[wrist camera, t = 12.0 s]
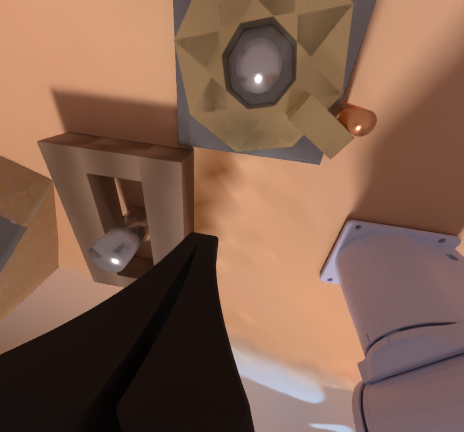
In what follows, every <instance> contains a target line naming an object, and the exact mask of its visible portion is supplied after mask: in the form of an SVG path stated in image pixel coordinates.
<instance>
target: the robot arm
mask: <svg viewBox="0 0 464 432" xmlns="http://www.w3.org/2000/svg"><path fill="white" fill-rule="evenodd" d="M357 225H360V226H359V227H356V226H357ZM440 239H441V240H440ZM460 243H461V239H460V238H458V237H457V236H453V235H447V234H441V233H434V232H428V231H422V230H415V229H409V228H403V227H396V226H390V225H383V224H377V223H371V222H364V221H358V220H349V221H347V222H346V224H345V226H344V228H343V230H342V232H341V234H340V236H339V238H338V240H337V242H336V244H335V246H334V248H333V250H332V252H331V254H330V256H329V258H328V260H327V262H326V264H325V266H324V268H323V270H322V272H321V274H320V280H321V281H323V282H328V283H334V284H339V285H341V288H342V291H343V294H344V297H345V300H346V303H347V306H348V309H349V311H350V314H351V317H352V320H353V323H354V326H355V329H356V332H357V335H358V338H359V341H360V343H361V346H362V349H363V352H364V355H365V359H364V360H363V361H361V362H359V363H358V367H359V371H360V374H361V377H362V380H363V381H361V382H359V383H358V384H357V385H356V387H355V389H354V392H353V398H352V411H353V418H354V424H355V429H356V432H464V257H463V256H462V255H461V254H460V253H459V252H458V251H457V250H456V249H455V248H456V247H457V246H458V245H459V244H460ZM217 250H218V238H217V236H212V235H206V234H200V233H195V232H190V233H189V234H188V235H187V236H186V237H185V238H184V239H183V240H182V241H181V242H180V243H179V244H178V245H177V246H176V247H175V248H174V249H173V250H172V251H171V252H169V253H168V254H167V255H166V256H165V257H164V258H163V259H162V260H160V261H159V262H158V263H157V264H156V265H154V266H153V267H152V268H151V269H149V270H148V271H147V272H146V273H145V274H143V275H142V276H141V277H139V278H138V279H137V280H135V281H134V282H132V283H131V284H130V285H128V286H127V287H125V288H124V289H122V290H121V291H119V292H118V293H116V294H115V295H113V296H112V297H110V298H109V299H107V300H105V301H104V302H102V303H100V304H99V305H97V306H95V307H94V308H92V309H90V310H89V311H87V312H85V313H83V314H81V315H80V316H78V317H76V318H74V319H72V320H70V321H69V322H67V323H65V324H63V325H61V326H59V327H57V328H55V329H54V330H51V331H50V332H47V333H45V334H43V335H41V336H39V337H37V338H35V339H33V340H31V341H28V342H27V343H24V344H22V345H20V346H18V347H16V348H14V349H12V350H9V351H7V352H5V353H3V354H1V355H0V432H255V431H254V426H253V421H252V416H251V411H250V405H249V402H248V399H247V396H246V393H245V391H244V388H243V385H242V382H241V379H240V376H239V373H238V370H237V366H236V363H235V360H234V357H233V353H232V350H231V346H230V342H229V339H228V335H227V331H226V327H225V323H224V319H223V314H222V309H221V304H220V299H219V293H218V285H217V276H216V260H217ZM329 278H330V279H329Z"/></svg>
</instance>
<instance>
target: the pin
mask: <svg viewBox="0 0 464 432" xmlns="http://www.w3.org/2000/svg"><path fill="white" fill-rule="evenodd" d="M148 235H149V229H148V222H147V216H146V209H145V208H144V207H141V206H136V207H133V208H131V209H130V210H129V211H128V212H127V213H126V214H125V215H124V216H123V217H122V218H121V219H120V220H119V221H118V222H117V223H116V224H115V225H114V226H113V227H112V228H111V229H110V230H109V231H108V232H107V233H106V234H105V235H104V236H103V237H102V238H101V239H100V240H99V241H98V242H96V243H95V244H94V245H93V246H92V247H91V248H90V250H89V255H90V258H91V259H92V261H93V262H94V263H95V264H96V265H97V266H99V267H100V268H102V269H104V270H107V271H110V272H119V271H122V270H123V269H124V268H125V266H126V265H127V264H128V262H129V261H130V260H131V258H132V257H133V256H134V254H135V253H136V252H137V250H138V249H139V247H140V246H141V245H142V243H143V242H144V241H145V239H146V238H147V237H148Z"/></svg>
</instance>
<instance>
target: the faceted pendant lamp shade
mask: <svg viewBox="0 0 464 432" xmlns="http://www.w3.org/2000/svg"><path fill="white" fill-rule="evenodd" d="M352 11H353V2H352V1H351V0H192V1H191V3H190V5H189V8H188V10H187V12H186V14H185V17H184V19H183V21H182V23H181V26H180V28H179V30H178V32H177V35H176V37H175V39H174V42H175V47H176V52H177V56H178V61H179V66H180V70H181V75H182V79H183V84H184V89H185V93H186V98H187V102H188V107H189V112H190V115H191V116H192V117H194V118H195V119H196V120H197V121H199V122H200V123H201V124H202V125H204V126H205V127H206V128H207V129H208V130H210V131H211V132H212V133H213V134H215V135H216V136H217V137H218V138H219V139H221V140H222V141H223V142H224V143H226V144H227V145H228V146H229V147H230V148H232V149H233V150H234V151H235V152H240V151H251V150H262V149H272V148H283V147H293V146H294V144H295V143H296V142H297V141H298V140H299V139H300V138H301V137H302V136H303V135H305V136H306V137H307V138H308V139H309V140H310V141H311V142H312V143H313V144H315V145H316V146H317V147H318V148H319V149H320V150H321V151H322V152H323V153H324V154H325V155H326V156H327V157H328V158H330V159H332V158H333V157H334V156H335V155H336V154H337V153H338V152H340V151H341V150H342V149H343V148H344V147H345V146H346V145H347V144H348V143H350V142H351V141H352V140H353V139H354V138H355V137H354V136H353V135H352V134H351V133H350V132H349V131H348V130H347V129H346V128H345V127H344V126H343V125H342V124H341V123H340V122H339V121H338V120H337V119H336V118H335V117H334V116H333V115H332V114H331V113H330V112H329V111H328V109H329V108H330V107H331V106H332V105H333V104H334V103H335V101H336V100H337V99H338V98H339V97H340V96H341V95H342V91H343V83H344V75H345V67H346V59H347V51H348V43H349V35H350V27H351V19H352ZM272 23H273V24H274V25H275V26H276V28H277V29H278V30H279V31H280V32H281V33H282V34H283V35H284V36H285V37H286V38H287V39H288V40H289V41H290V42H291V43H292V45H293V46H294V54H293V80H292V81H291V82H290V84H289V85H288V86H287V87H286V89H285V90H284V91H283V92H282V94H281V95H280V96H279V98H278V99H277V100H276V101H275V103H268V104H260V105H253V106H249V105H248V104H247V103H246V102H245V101H244V100H242V99H241V98H240V97H239V96H238V95H237V94H236V93H235V92H234V91H232V90H231V89H230V81H229V73H228V64H227V56H228V55H229V53H230V51H231V50H232V48H233V46H234V45H235V43H236V41H237V40H238V38H239V36H240V34H241V33H242V31H243V29H248V28H252V27H257V26H262V25H267V24H272Z"/></svg>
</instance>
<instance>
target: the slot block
mask: <svg viewBox="0 0 464 432" xmlns="http://www.w3.org/2000/svg"><path fill="white" fill-rule="evenodd" d="M37 143H38V145H39V148H40V150H41V153H42V155H43V158H44V160H45V162H46V165H47V167H48V170H49V172H50V175H51V177H52V180H53V182H54V185H55V187H56V189H57V192H58V194H59V197H60V199H61V202H62V204H63V207H64V209H65V212H66V214H67V216H68V219H69V221H70V224H71V226H72V229H73V231H74V234H75V236H76V239H77V241H78V243H79V246H80V248H81V251H82V253H83V256H84V258H85V261H86V263H87V266H88V268H89V270H90V273H91V275H92V278H93V280H94V282H98V283H103V284H109V285H114V286H119V287H127V286H128V285H130V284H131V283H132V282H134V281H135V280H137V279H138V278H139V277H141V276H142V275H143V274H145V273H146V272H147V271H148V270H149V269H151V268H152V267H153V266H154V265H156V264H157V263H158V262H159V261H160V260H162V259H163V258H164V257H165V256H166V255H167V254H168V253H169V252H171V251H172V250H173V249H174V248H175V247H176V246H177V245H178V244H179V243H180V242H181V241H182V240H183V239H184V238H185V237H186V236H187V235H188V234H189V233H190V232H194V150H187V149H180V148H173V147H167V146H160V145H153V144H146V143H139V142H132V141H125V140H118V139H111V138H104V137H97V136H91V135H84V134H77V133H70V132H68V133H64V134H61V135H57V136H54V137H50V138H47V139H43V140H40V141H37ZM114 178H121V179H127V180H134V181H140V182H141V183H142V190H143V196H144V203H145V209H146V216H147V222H148V229H149V235H150V242H151V248H152V255H153V260H151V259H145V258H140V257H134V256H133V257H132V258H131V260H130V261H129V262H128V264H127V265H126V266H125V268H124V269H123V270H122V271H119V272H110V271H107V270H104V269H102V268H100V267H99V266H97V265H96V264H95V263H94V262H93V261H92V259H91V258H90V255H89V250H90V248H91V247H92V246H93V245H94V244H95V243H96V242H98V241H99V240H100V239H101V238H102V237H103V236H104V235H105V234H106V233H107V232H108V231H109V230H110V229H111V228H112V227H113V226H114V225H115V224H116V223H117V222H118V221H119V220H120V219H121V218H122V217H123V216H122V212H121V208H120V203H119V199H118V195H117V190H116V186H115V182H114Z"/></svg>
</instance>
